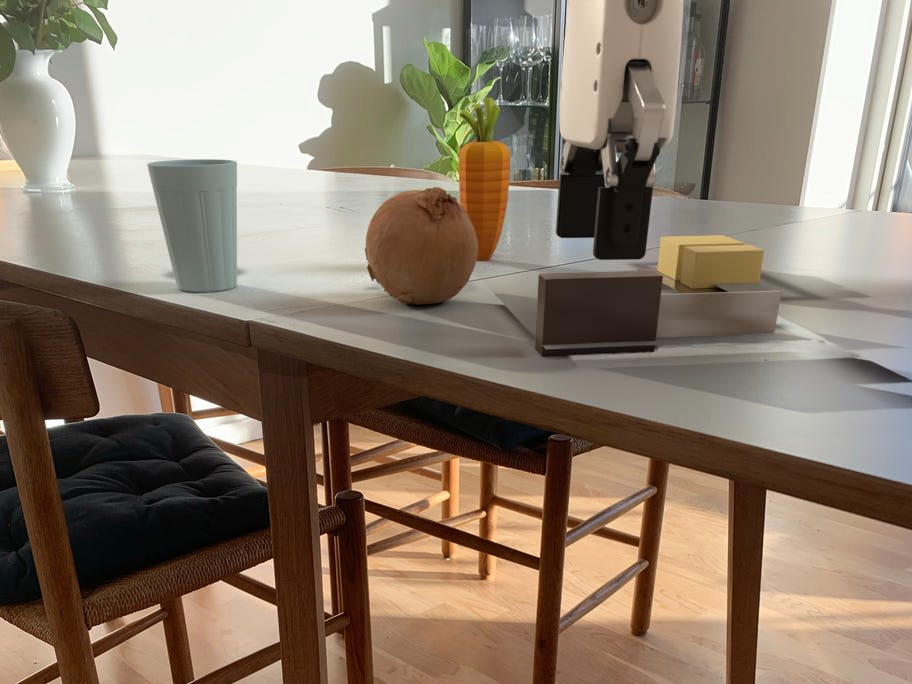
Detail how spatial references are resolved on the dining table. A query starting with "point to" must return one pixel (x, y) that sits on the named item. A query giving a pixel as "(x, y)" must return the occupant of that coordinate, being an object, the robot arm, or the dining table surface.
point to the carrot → (484, 179)
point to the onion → (421, 246)
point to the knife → (639, 312)
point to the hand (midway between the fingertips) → (597, 247)
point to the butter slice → (720, 265)
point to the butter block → (674, 251)
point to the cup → (198, 220)
